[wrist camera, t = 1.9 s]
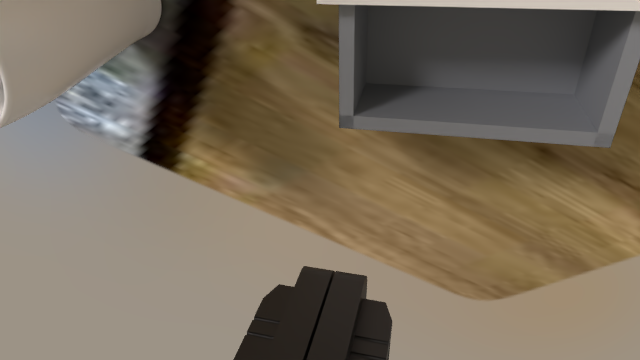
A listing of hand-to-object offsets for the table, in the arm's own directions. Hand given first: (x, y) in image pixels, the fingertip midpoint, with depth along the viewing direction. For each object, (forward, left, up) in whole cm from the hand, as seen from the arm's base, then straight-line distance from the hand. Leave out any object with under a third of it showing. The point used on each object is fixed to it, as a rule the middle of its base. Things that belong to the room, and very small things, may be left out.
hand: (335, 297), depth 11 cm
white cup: (-9, -17, -23) cm, 30 cm away
